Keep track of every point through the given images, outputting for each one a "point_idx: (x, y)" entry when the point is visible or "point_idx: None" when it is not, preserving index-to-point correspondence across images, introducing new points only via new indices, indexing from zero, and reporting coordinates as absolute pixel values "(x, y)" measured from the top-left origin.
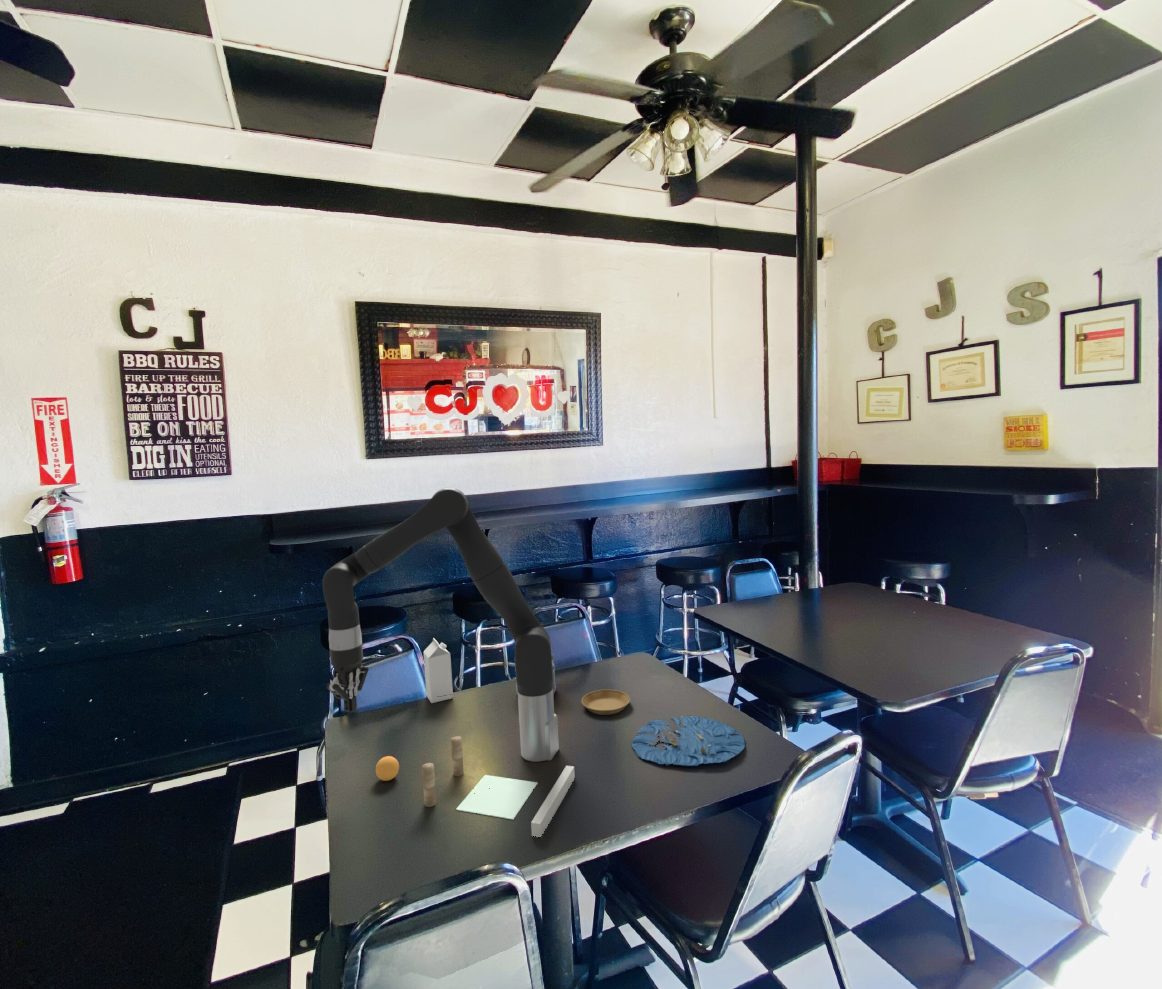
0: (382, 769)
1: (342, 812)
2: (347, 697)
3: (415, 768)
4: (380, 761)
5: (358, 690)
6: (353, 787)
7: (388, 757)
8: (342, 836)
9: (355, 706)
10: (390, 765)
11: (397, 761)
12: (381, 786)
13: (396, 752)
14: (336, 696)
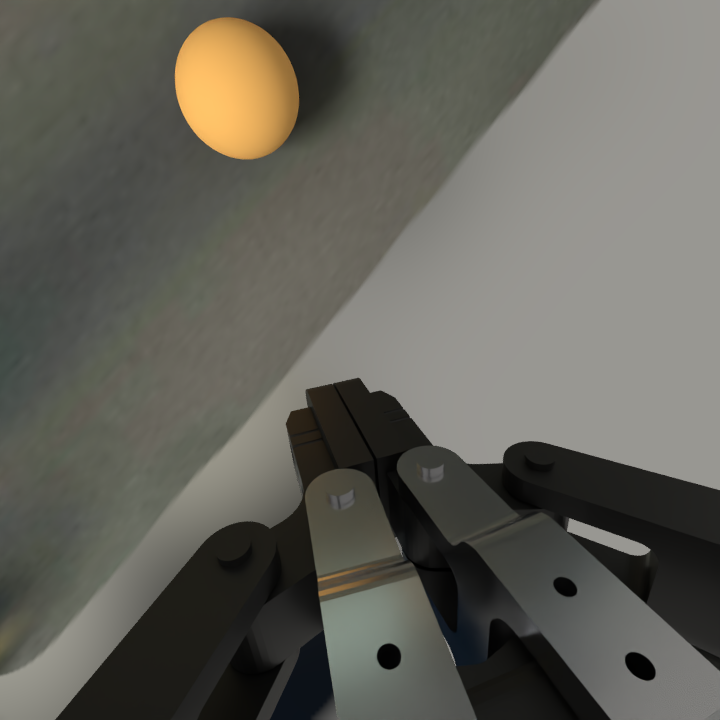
0: (293, 73)
1: (471, 126)
2: (507, 456)
3: (85, 9)
4: (274, 107)
5: (260, 540)
6: (342, 215)
7: (233, 72)
8: (576, 9)
9: (324, 401)
10: (259, 33)
11: (193, 35)
12: None
13: (33, 246)
14: (586, 540)
